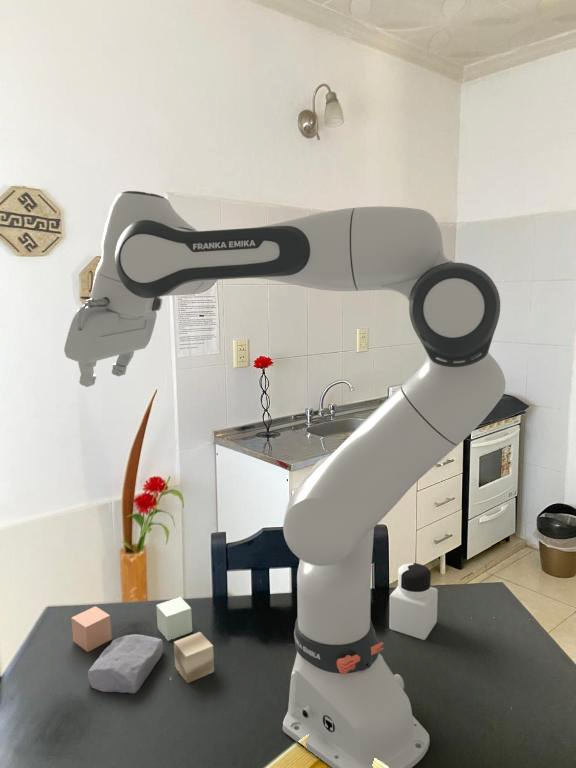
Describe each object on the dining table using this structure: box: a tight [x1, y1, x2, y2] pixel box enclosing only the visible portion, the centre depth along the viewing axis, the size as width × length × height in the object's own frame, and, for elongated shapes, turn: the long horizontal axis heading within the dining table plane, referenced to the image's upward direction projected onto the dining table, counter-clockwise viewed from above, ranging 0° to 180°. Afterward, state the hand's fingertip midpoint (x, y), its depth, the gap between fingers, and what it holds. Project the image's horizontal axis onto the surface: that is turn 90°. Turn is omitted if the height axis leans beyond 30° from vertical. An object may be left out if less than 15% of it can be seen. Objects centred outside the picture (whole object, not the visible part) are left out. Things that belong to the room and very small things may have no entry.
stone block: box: [87, 633, 164, 694], centre depth 100 cm, size 12×5×10 cm
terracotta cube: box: [70, 606, 113, 653], centre depth 108 cm, size 5×5×5 cm
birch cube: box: [173, 631, 215, 684], centre depth 99 cm, size 5×5×5 cm
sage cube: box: [155, 596, 193, 642], centre depth 111 cm, size 5×5×5 cm
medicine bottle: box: [389, 562, 439, 641], centre depth 110 cm, size 7×7×12 cm
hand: (103, 379), depth 93 cm, fingers open, 8 cm apart
